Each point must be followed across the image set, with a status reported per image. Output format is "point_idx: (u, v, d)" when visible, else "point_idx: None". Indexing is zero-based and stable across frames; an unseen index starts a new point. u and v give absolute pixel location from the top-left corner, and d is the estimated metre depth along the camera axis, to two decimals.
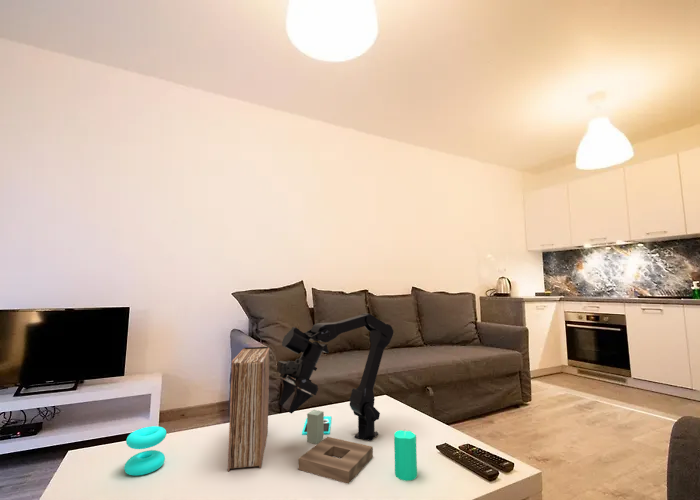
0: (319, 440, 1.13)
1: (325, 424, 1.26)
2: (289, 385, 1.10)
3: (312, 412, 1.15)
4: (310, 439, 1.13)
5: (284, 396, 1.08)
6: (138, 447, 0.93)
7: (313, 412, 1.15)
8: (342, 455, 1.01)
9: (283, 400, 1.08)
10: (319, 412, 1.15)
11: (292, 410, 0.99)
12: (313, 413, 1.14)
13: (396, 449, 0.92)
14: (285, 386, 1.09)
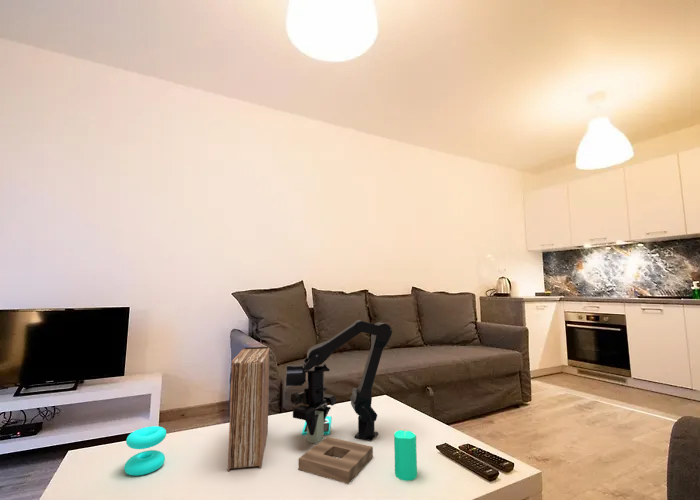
0: (319, 440, 1.13)
1: (325, 424, 1.26)
2: (319, 410, 1.17)
3: None
4: (310, 438, 1.13)
5: None
6: (138, 447, 0.93)
7: None
8: (342, 455, 1.01)
9: None
10: (319, 412, 1.15)
11: (311, 432, 1.12)
12: None
13: (396, 449, 0.92)
14: None
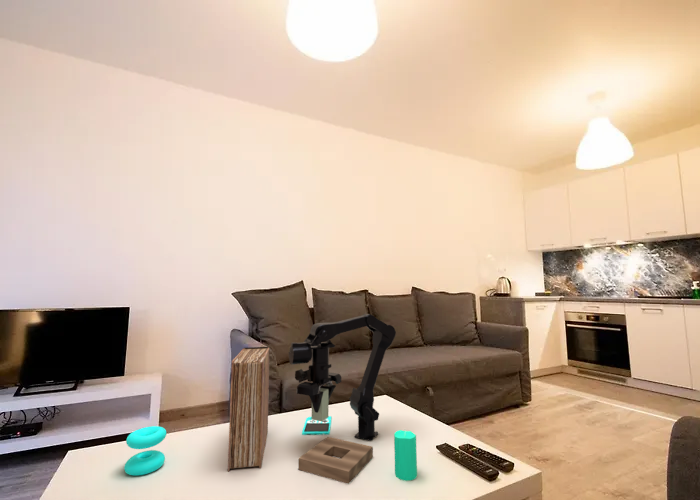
0: (324, 418, 1.10)
1: (325, 424, 1.26)
2: (324, 388, 1.15)
3: None
4: (314, 416, 1.10)
5: None
6: (138, 447, 0.93)
7: None
8: (342, 455, 1.01)
9: None
10: (324, 389, 1.12)
11: (316, 410, 1.09)
12: None
13: (396, 449, 0.92)
14: None
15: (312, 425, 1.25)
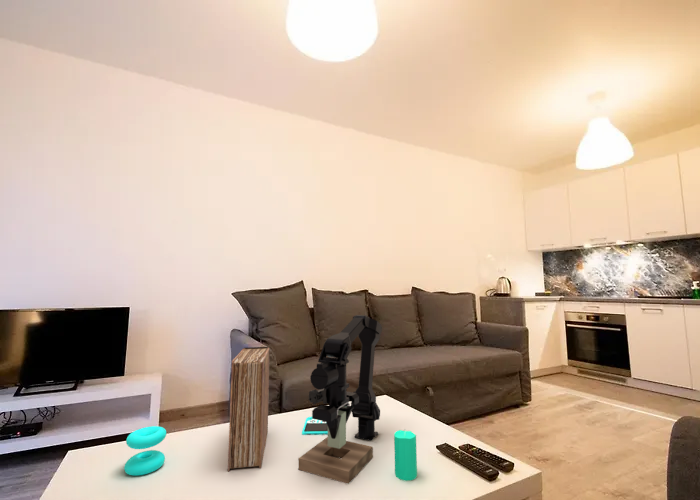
0: (341, 444, 0.98)
1: (325, 424, 1.26)
2: (341, 410, 1.03)
3: None
4: (331, 442, 0.98)
5: None
6: (138, 447, 0.93)
7: None
8: (342, 455, 1.01)
9: None
10: (341, 412, 1.01)
11: (333, 436, 0.98)
12: None
13: (396, 449, 0.92)
14: None
15: (312, 425, 1.25)
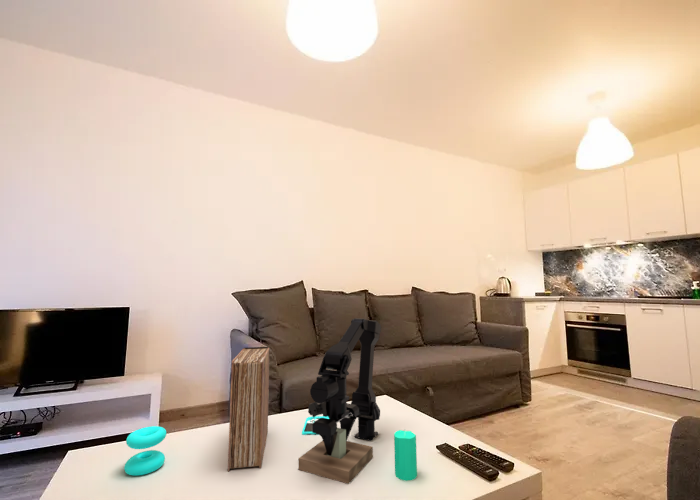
0: None
1: None
2: (344, 420, 1.04)
3: None
4: None
5: None
6: (138, 447, 0.93)
7: None
8: None
9: None
10: (341, 430, 1.00)
11: (329, 452, 0.95)
12: None
13: (396, 449, 0.92)
14: (341, 423, 1.05)
15: None
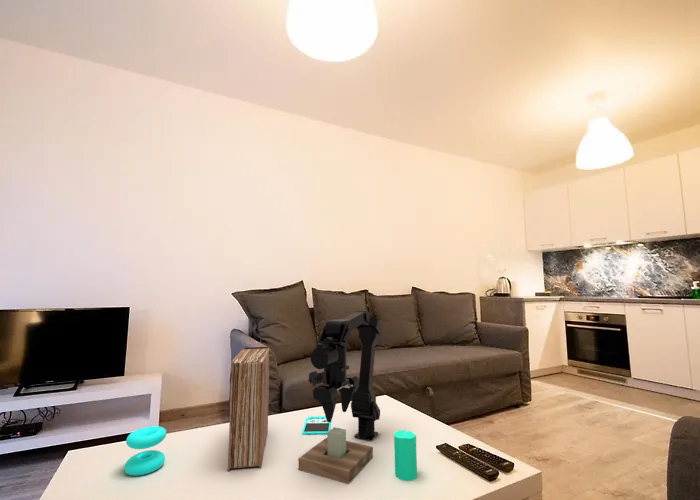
0: None
1: (325, 424, 1.26)
2: (344, 390, 1.06)
3: (333, 430, 1.00)
4: None
5: (343, 402, 1.05)
6: (138, 447, 0.93)
7: (334, 430, 1.00)
8: None
9: (344, 407, 1.04)
10: (341, 430, 1.00)
11: (328, 419, 0.96)
12: (334, 431, 0.99)
13: (396, 449, 0.92)
14: (341, 392, 1.06)
15: (312, 425, 1.25)
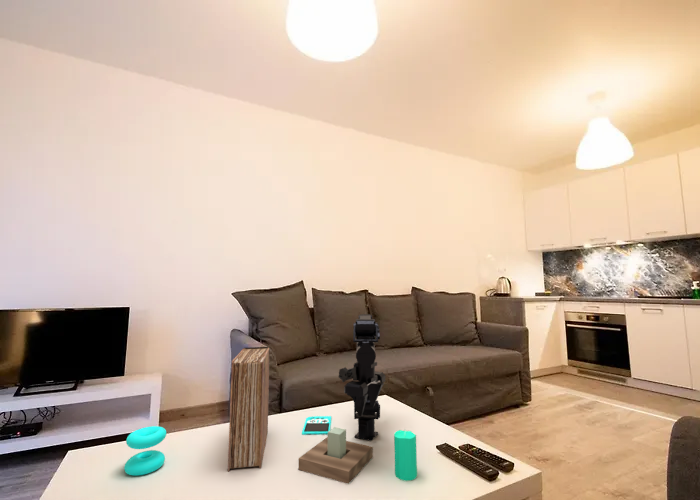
0: None
1: (325, 424, 1.26)
2: (372, 385, 1.10)
3: (333, 430, 1.00)
4: None
5: (371, 397, 1.09)
6: (138, 447, 0.93)
7: (334, 430, 1.00)
8: None
9: (372, 402, 1.09)
10: (341, 430, 1.00)
11: (359, 413, 1.00)
12: (334, 431, 0.99)
13: (396, 449, 0.92)
14: (369, 388, 1.10)
15: (312, 425, 1.25)
